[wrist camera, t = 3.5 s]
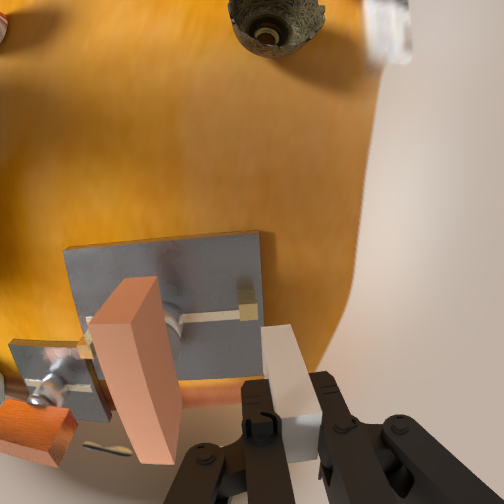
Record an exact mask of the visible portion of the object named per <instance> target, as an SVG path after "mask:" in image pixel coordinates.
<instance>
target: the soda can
mask: <svg viewBox="0 0 504 504" xmlns="http://www.w3.org/2000/svg"><path fill="white" fill-rule="evenodd" d="M7 25H8V21H7V17H6V16H5V15H4V14H3V13H1V12H0V44H1V42H2V41H3V39H4V37H5V34H6V30H7Z"/></svg>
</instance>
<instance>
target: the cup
mask: <svg viewBox="0 0 504 504" xmlns="http://www.w3.org/2000/svg"><path fill="white" fill-rule="evenodd" d="M228 11H229V14H230V18H231V22H232V26H233V29H234V32H235V34H236V37H237V38H238V40H239V42H240V43H241V44H242V45H243V46H244V47H245V48H246V49H247V50H249V51H250V52H252V53H254V54H256V55H259V56H262V57H268V58H277V57H282V56H286V55H289V54H291V53H293V52H295V51H296V50H298V49H299V48H301V47H302V46H303V45H305V44H306V43H307V42H308V41H309V40H311V39H312V38H314V37H315V36H316V35H317V32H318V31H319V30H320V29H321V28H322V26H323V24H324V22H325V17H324V12H325V6H324V5H320V6H319V5H318V0H229V3H228ZM262 33H269V34H271V35H272V36H273V37H274V39H275V41H274V44H273V45H270V44H268V45H266V44H264V43H262V42H260V41H259V40H258V37H259V35H261V34H262Z"/></svg>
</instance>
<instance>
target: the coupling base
mask: <svg viewBox="0 0 504 504" xmlns="http://www.w3.org/2000/svg"><path fill="white" fill-rule="evenodd" d="M63 254H64V259H65V264H66V269H67V273H68V278H69V282H70V286H71V290H72V295H73V298H74V302H75V306H76V310H77V314H78V317H79V321H80V324H81V328H82V331H83V334H84V335H83V337H82V338H81V339H80V341H79V342H78V344H77V345H76V346H77V349H78V352H79V355H80V358H81V359H92V362H93V365H94V368H95V371H96V374H97V377H98V379H99V380H105V377H104V374H103V372H102V369H101V366H100V363H99V360H98V357H97V354H96V350H95V347H94V344H93V341H92V337H91V334H90V331H89V327H88V323H89V322H90V321H91V319H92V318H93V317H94V316H95V314H96V313H97V312H98V310H99V309H100V308H101V307H102V305H103V304H104V303H105V302H106V300H107V299H108V298H109V297H110V295H111V294H112V293H113V292H114V290H115V289H116V288H117V287H118V285H119V284H120V283H121V282H122V281H123V279H124V278H134V277H148V276H157V277H158V283H159V289H160V295H161V301H162V306H163V312H164V317H165V322H166V323H168V324H169V325H171V326H172V327H173V328H174V329H175V330H176V331H177V333H178V334H179V337H180V340H181V347H180V352H179V356H178V358H177V359H176V361H175V362H174V366H175V371H176V375H177V379H178V380H203V379H221V378H235V377H247V376H258V375H264V373H263V359H262V341H261V327H264V312H263V293H262V275H261V257H260V239H259V232H258V230H251V231H238V232H225V233H213V234H201V235H189V236H177V237H166V238H154V239H143V240H133V241H122V242H112V243H102V244H92V245H82V246H72V247H68V248H66V249H65V250H63Z"/></svg>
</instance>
